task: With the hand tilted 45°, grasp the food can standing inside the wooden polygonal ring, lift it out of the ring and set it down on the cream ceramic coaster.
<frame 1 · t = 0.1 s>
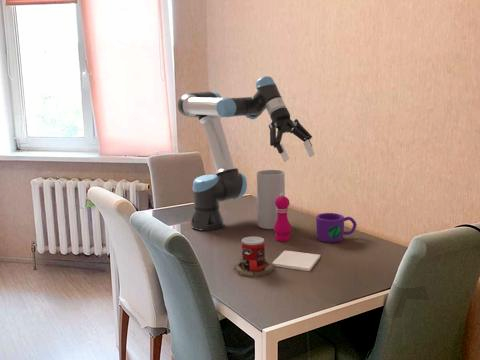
hand: (299, 157, 182), 36 cm above the table, tool tilted 35°, fingers open, 13 cm apart
cylinder vase: (271, 226, 216), on the table
pepper mill: (282, 239, 198), on the table
coaster: (296, 261, 173), on the table
wooden polygonal ring: (253, 269, 167), on the table
canned food: (253, 269, 167), resting in wooden polygonal ring
mug: (336, 239, 196), on the table
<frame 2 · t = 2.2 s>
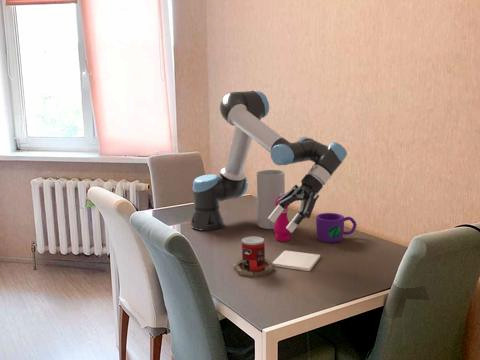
hand: (279, 225, 168), 15 cm above the table, tool tilted 45°, fingers open, 13 cm apart
nothing on the table moved.
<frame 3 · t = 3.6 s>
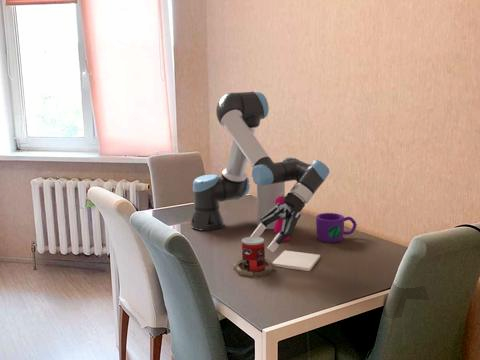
hand: (261, 244, 166), 9 cm above the table, tool tilted 45°, fingers open, 13 cm apart
nothing on the table moved.
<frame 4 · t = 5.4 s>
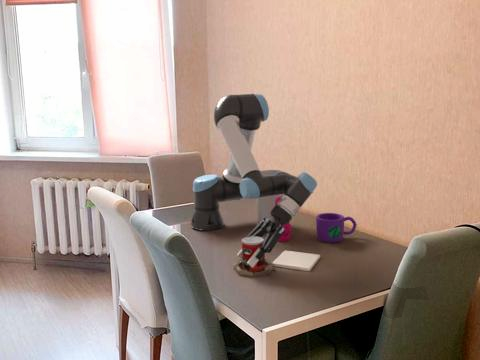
hand: (244, 261, 165), 4 cm above the table, tool tilted 45°, fingers closed on canned food, 8 cm apart
canned food: (253, 269, 167), resting in wooden polygonal ring, touching gripper
everything else where it was.
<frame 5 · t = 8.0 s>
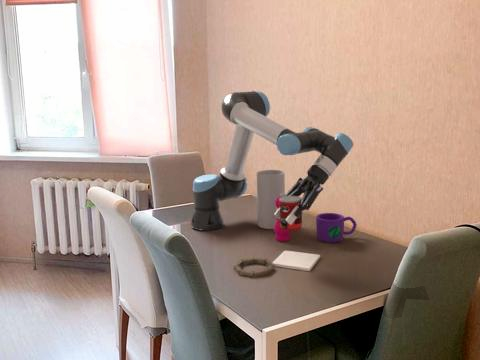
hand: (282, 219, 167), 17 cm above the table, tool tilted 45°, fingers closed on canned food, 8 cm apart
canned food: (290, 228, 169), point 13 cm above the table, touching gripper
everything else where it was.
when the fingers open (5 cm above the table, at t = 10.7 s): canned food stays where it is, resting on coaster.
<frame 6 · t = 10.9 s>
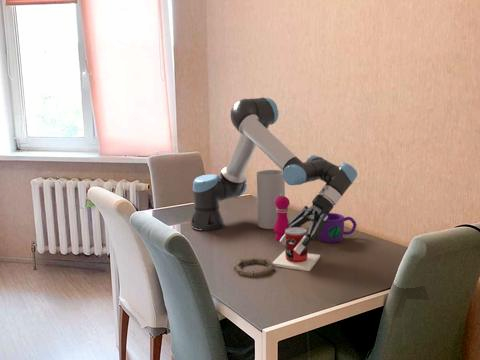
hand: (289, 247, 170), 6 cm above the table, tool tilted 45°, fingers open, 10 cm apart
canned food: (296, 259, 172), point 1 cm above the table, touching coaster
everything else where it was.
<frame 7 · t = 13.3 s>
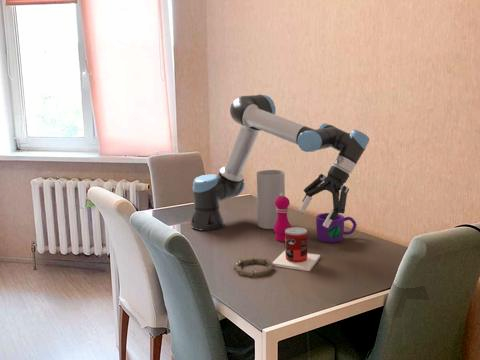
hand: (312, 218, 177), 14 cm above the table, tool tilted 30°, fingers open, 13 cm apart
nothing on the table moved.
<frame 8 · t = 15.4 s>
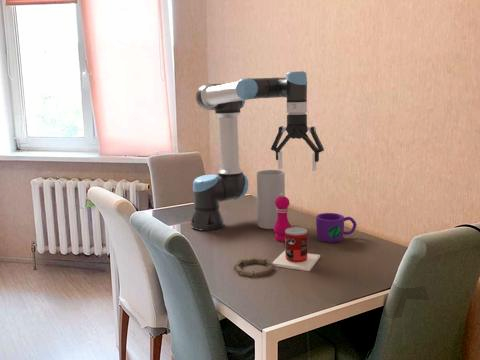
hand: (297, 169, 180), 32 cm above the table, tool pointing down, fingers open, 13 cm apart
nothing on the table moved.
at the end: canned food inside the target area on the coaster (0.1 cm from its centre), point 0.8 cm above the coaster's base; canned food tilted 0° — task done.
